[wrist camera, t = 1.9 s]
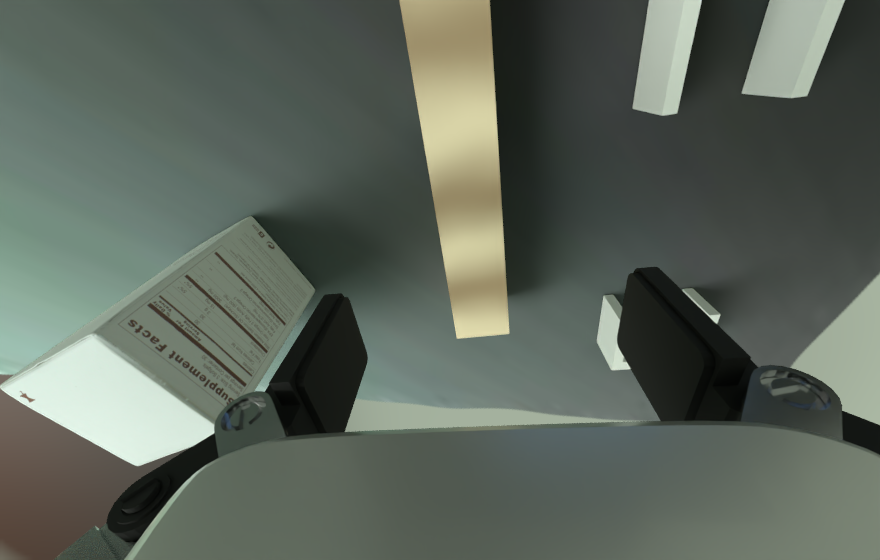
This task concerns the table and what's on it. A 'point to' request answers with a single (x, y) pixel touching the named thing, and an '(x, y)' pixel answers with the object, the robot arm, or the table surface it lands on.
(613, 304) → the end cap
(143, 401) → the supplement box
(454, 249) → the slat
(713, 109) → the table surface
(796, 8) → the end cap
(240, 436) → the robot arm
